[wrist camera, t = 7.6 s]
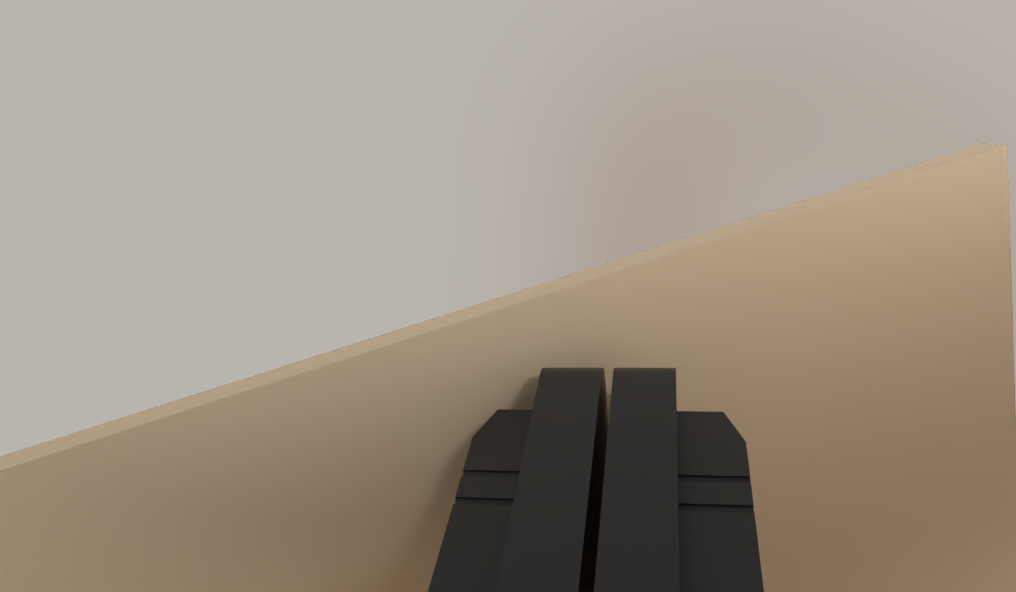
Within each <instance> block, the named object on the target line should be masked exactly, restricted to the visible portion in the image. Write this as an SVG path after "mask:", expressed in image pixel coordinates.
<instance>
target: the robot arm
mask: <svg viewBox="0 0 1016 592" xmlns="http://www.w3.org/2000/svg"><path fill="white" fill-rule="evenodd" d="M428 592H764V588H763V580H762V571H761V563H760V555H759V546H758V538H757V529H756V521H755V513H754V504H753V496H752V488H751V483H750V471H749V463H748V454H747V446H746V441H745V440H744V438H743V437H742V436H741V434H740V433H739V432H738V430H737V429H736V428H735V426H734V425H733V424H732V422H731V421H730V420H729V418H728V417H727V416H726V414H725V413H724V412H705V411H677V402H676V368H614V370H613V379H612V391H611V402H610V414H609V425H608V416H607V398H606V382H605V372H604V368H542V370H541V372H540V376H539V381H538V386H537V391H536V396H535V401H534V405H533V410H508V409H498V410H497V411H496V412H495V413H494V414H493V415H492V416H491V417H490V419H489V420H488V421H487V422H486V423H485V424H484V425H483V426H482V427H481V428H480V430H479V431H478V432H477V433H476V434H475V435H474V436H473V437H472V441H471V444H470V448H469V451H468V455H467V458H466V461H465V465H464V468H463V476H461V479H460V482H459V486H458V489H457V493H456V496H455V504H453V506H452V510H451V513H450V517H449V520H448V524H447V527H446V531H445V534H444V537H443V541H442V544H441V548H440V551H439V555H438V558H437V562H436V565H435V569H434V572H433V575H432V579H431V582H430V586H429V589H428Z"/></svg>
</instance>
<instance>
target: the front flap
mask: <svg viewBox="0 0 1016 592" xmlns="http://www.w3.org/2000/svg"><path fill="white" fill-rule="evenodd" d="M542 368H604V372H605V382H606V398H607V416H608V425H609V414H610V402H611V391H612V379H613V370H614V368H676V402H677V411H705V412H724V413H725V414H726V416H727V417H728V418H729V420H730V421H731V422H732V424H733V425H734V426H735V428H736V429H737V430H738V432H739V433H740V434H741V436H742V437H743V438H744V440H745V441H746V446H747V454H748V463H749V471H750V483H751V488H752V496H753V504H754V513H755V521H756V529H757V538H758V546H759V555H760V563H761V571H762V580H763V588H764V592H1016V414H1015V380H1014V346H1013V313H1012V278H1011V244H1010V210H1009V179H1008V145H1001V144H987V143H983V144H979V145H976V146H973V147H970V148H967V149H964V150H961V151H958V152H954V153H951V154H948V155H945V156H942V157H939V158H936V159H933V160H929V161H926V162H923V163H920V164H917V165H913V166H910V167H907V168H904V169H901V170H898V171H895V172H892V173H888V174H885V175H882V176H879V177H876V178H873V179H870V180H867V181H864V182H861V183H857V184H854V185H851V186H848V187H844V188H842V189H838V190H835V191H832V192H829V193H826V194H823V195H819V196H816V197H813V198H810V199H807V200H804V201H801V202H797V203H794V204H791V205H788V206H785V207H782V208H779V209H776V210H773V211H769V212H766V213H763V214H760V215H757V216H754V217H750V218H747V219H744V220H741V221H738V222H735V223H732V224H729V225H725V226H722V227H719V228H716V229H713V230H710V231H707V232H704V233H700V234H697V235H694V236H691V237H688V238H685V239H681V240H678V241H675V242H672V243H669V244H666V245H663V246H659V247H656V248H653V249H650V250H647V251H644V252H641V253H638V254H635V255H631V256H628V257H625V258H622V259H619V260H616V261H612V262H609V263H606V264H603V265H600V266H597V267H594V268H591V269H587V270H584V271H581V272H578V273H575V274H572V275H569V276H565V277H562V278H559V279H556V280H553V281H550V282H546V283H543V284H540V285H537V286H534V287H531V288H528V289H525V290H521V291H518V292H515V293H512V294H509V295H506V296H503V297H500V298H496V299H494V300H490V301H487V302H484V303H481V304H477V305H474V306H471V307H468V308H465V309H462V310H459V311H456V312H453V313H449V314H446V315H443V316H440V317H437V318H434V319H431V320H427V321H424V322H421V323H418V324H415V325H412V326H409V327H406V328H402V329H399V330H396V331H393V332H390V333H387V334H383V335H380V336H377V337H374V338H371V339H368V340H365V341H361V342H358V343H355V344H352V345H349V346H346V347H343V348H339V349H337V350H333V351H330V352H327V353H324V354H321V355H317V356H314V357H311V358H308V359H305V360H302V361H299V362H296V363H293V364H289V365H286V366H283V367H280V368H277V369H274V370H271V371H267V372H264V373H261V374H258V375H255V376H252V377H248V378H245V379H242V380H239V381H236V382H233V383H230V384H227V385H224V386H220V387H217V388H214V389H211V390H208V391H205V392H201V393H199V394H195V395H192V396H189V397H186V398H183V399H179V400H177V401H173V402H170V403H167V404H164V405H161V406H158V407H155V408H151V409H148V410H145V411H142V412H139V413H136V414H132V415H129V416H126V417H123V418H120V419H117V420H114V421H110V422H107V423H104V424H101V425H98V426H95V427H92V428H89V429H86V430H82V431H79V432H76V433H73V434H70V435H67V436H63V437H60V438H57V439H54V440H51V441H48V442H45V443H41V444H38V445H35V446H32V447H29V448H26V449H23V450H19V451H16V452H13V453H10V454H7V455H4V456H1V457H0V592H428V589H429V586H430V582H431V579H432V575H433V572H434V569H435V565H436V562H437V558H438V555H439V551H440V548H441V544H442V541H443V537H444V534H445V531H446V527H447V524H448V520H449V517H450V513H451V510H452V506H453V504H455V496H456V493H457V489H458V486H459V482H460V479H461V476H463V468H464V465H465V461H466V458H467V455H468V451H469V448H470V444H471V441H472V437H473V436H474V435H475V434H476V433H477V432H478V431H479V430H480V428H481V427H482V426H483V425H484V424H485V423H486V422H487V421H488V420H489V419H490V417H491V416H492V415H493V414H494V413H495V412H496V411H497V410H498V409H508V410H533V405H534V401H535V396H536V391H537V386H538V381H539V376H540V372H541V370H542Z"/></svg>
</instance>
